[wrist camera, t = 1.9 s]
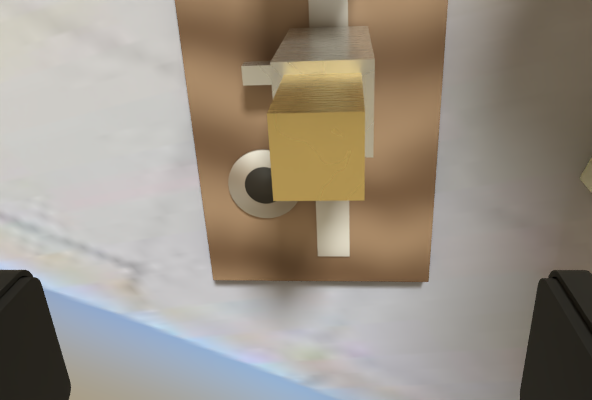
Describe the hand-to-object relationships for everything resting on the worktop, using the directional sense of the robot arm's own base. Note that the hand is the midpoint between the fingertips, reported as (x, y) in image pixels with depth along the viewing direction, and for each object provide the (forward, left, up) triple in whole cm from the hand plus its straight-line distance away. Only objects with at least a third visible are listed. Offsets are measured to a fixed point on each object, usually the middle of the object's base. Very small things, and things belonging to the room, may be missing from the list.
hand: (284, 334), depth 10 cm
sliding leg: (0, -1, -21) cm, 21 cm away
